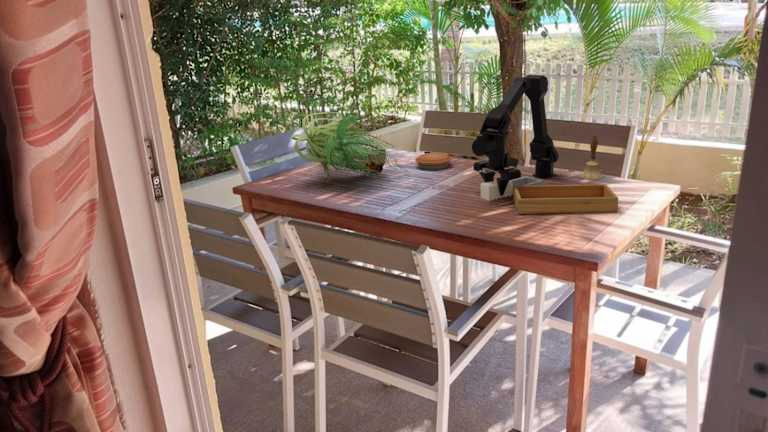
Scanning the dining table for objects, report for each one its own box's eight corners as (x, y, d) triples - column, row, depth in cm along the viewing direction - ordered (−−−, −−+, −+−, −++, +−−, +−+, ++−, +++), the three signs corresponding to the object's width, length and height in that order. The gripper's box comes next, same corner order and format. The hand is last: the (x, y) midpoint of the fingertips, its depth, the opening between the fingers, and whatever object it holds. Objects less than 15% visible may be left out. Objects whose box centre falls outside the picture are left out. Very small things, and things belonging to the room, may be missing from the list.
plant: (416, 166, 226) (322, 131, 206) (368, 221, 247) (278, 194, 227) (402, 106, 248) (315, 69, 228) (358, 161, 269) (275, 131, 249)
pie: (454, 162, 260) (454, 150, 259) (449, 171, 246) (449, 159, 244) (418, 162, 264) (418, 150, 262) (412, 171, 250) (411, 159, 248)
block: (504, 192, 216) (504, 178, 214) (512, 195, 211) (512, 182, 210) (480, 197, 212) (480, 183, 210) (488, 200, 208) (488, 187, 206)
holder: (526, 183, 224) (526, 176, 223) (543, 189, 217) (543, 181, 216) (499, 190, 218) (499, 182, 217) (515, 196, 210) (515, 188, 209)
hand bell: (606, 175, 228) (609, 134, 222) (598, 181, 222) (600, 138, 216) (585, 172, 233) (587, 132, 228) (576, 178, 227) (578, 136, 222)
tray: (605, 198, 204) (606, 182, 202) (617, 213, 190) (618, 196, 188) (512, 201, 207) (512, 185, 205) (518, 216, 193) (518, 199, 191)
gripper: (533, 150, 202) (532, 195, 207) (496, 142, 218) (496, 183, 223) (508, 156, 197) (507, 201, 202) (472, 147, 212) (472, 189, 218)
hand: (496, 193), depth 211 cm, fingers closed on block, 5 cm apart
